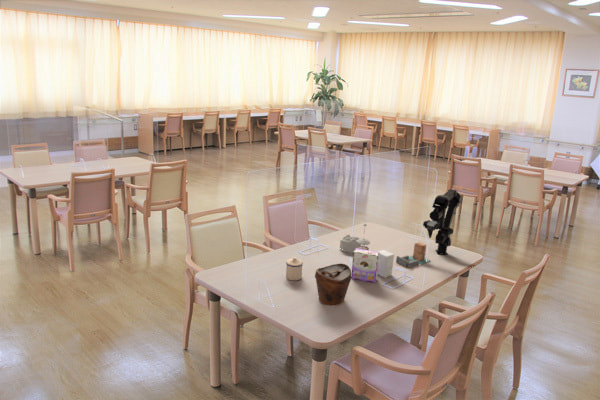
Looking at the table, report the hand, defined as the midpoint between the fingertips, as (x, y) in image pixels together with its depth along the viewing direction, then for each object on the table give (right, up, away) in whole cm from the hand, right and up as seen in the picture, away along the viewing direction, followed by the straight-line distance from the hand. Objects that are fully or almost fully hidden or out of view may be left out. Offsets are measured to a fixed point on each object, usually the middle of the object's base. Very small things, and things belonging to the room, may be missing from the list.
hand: (436, 240), depth 303 cm
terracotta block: (-10, -12, +3) cm, 16 cm away
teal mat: (-10, -12, +3) cm, 16 cm away
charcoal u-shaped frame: (-19, -14, -4) cm, 24 cm away
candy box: (-48, -19, -27) cm, 58 cm away
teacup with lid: (-88, -18, -29) cm, 94 cm away
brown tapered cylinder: (-68, -26, -53) cm, 90 cm away
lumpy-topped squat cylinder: (-52, -7, +13) cm, 54 cm away
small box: (-36, -18, -20) cm, 45 cm away
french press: (-46, -13, -6) cm, 48 cm away
